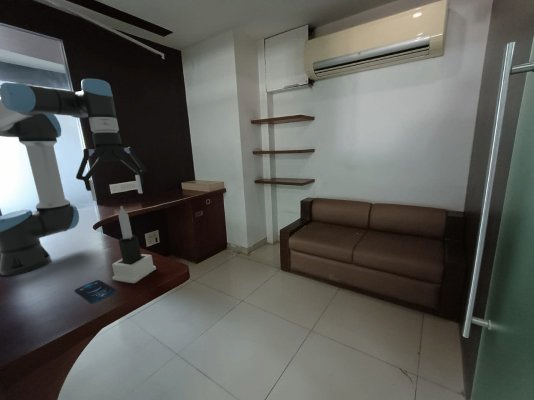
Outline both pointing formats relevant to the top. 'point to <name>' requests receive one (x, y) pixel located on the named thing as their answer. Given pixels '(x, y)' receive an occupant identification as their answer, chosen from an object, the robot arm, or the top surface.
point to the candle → (128, 241)
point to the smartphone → (95, 291)
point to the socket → (133, 269)
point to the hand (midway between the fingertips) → (118, 196)
